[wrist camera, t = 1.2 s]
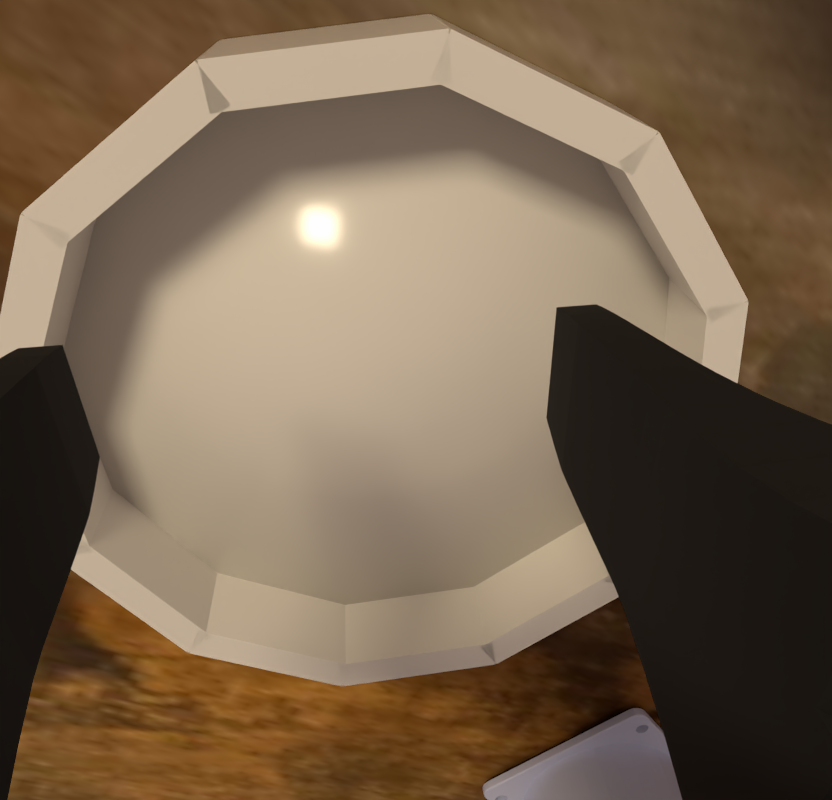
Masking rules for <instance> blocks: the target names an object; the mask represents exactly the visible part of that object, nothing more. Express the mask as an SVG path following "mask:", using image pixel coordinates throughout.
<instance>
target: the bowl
mask: <svg viewBox="0 0 832 800" xmlns="http://www.w3.org/2000/svg"><path fill="white" fill-rule="evenodd" d="M747 301H748V299H747V297H746V296H745V294H744V292H743V290H742V288H741V286H740V284H739V282H738V280H737V279H736V277H735V275H734V273H733V271H732V269H731V267H730V265H729V263H728V261H727V260H726V258H725V256H724V254H723V252H722V250H721V248H720V246H719V244H718V243H717V241H716V239H715V237H714V235H713V233H712V231H711V229H710V227H709V225H708V224H707V222H706V220H705V218H704V216H703V214H702V212H701V210H700V208H699V207H698V205H697V203H696V201H695V199H694V197H693V195H692V193H691V191H690V189H689V188H688V186H687V184H686V182H685V180H684V178H683V176H682V174H681V172H680V171H679V169H678V167H677V165H676V163H675V161H674V159H673V157H672V155H671V153H670V152H669V150H668V148H667V146H666V144H665V142H664V140H663V138H662V136H661V135H660V133H659V132H658V131H657V130H655V129H653V128H652V127H650V126H648V125H647V124H645V123H643V122H641V121H640V120H638V119H636V118H635V117H633V116H631V115H630V114H628V113H626V112H625V111H623V110H621V109H619V108H618V107H616V106H614V105H613V104H611V103H609V102H607V101H605V100H603V99H601V98H599V97H597V96H595V95H593V94H591V93H589V92H587V91H585V90H583V89H581V88H579V87H577V86H575V85H573V84H571V83H569V82H567V81H565V80H563V79H561V78H559V77H557V76H555V75H553V74H551V73H549V72H547V71H545V70H543V69H541V68H539V67H537V66H535V65H533V64H531V63H529V62H527V61H525V60H523V59H521V58H519V57H517V56H515V55H513V54H511V53H509V52H507V51H505V50H503V49H501V48H499V47H497V46H495V45H493V44H491V43H489V42H487V41H485V40H483V39H481V38H479V37H477V36H475V35H473V34H471V33H469V32H467V31H465V30H463V29H461V28H459V27H457V26H455V25H453V24H451V23H449V22H447V21H445V20H443V19H441V18H439V17H436V16H434V15H431V14H425V15H417V16H409V17H401V18H392V19H384V20H376V21H368V22H360V23H352V24H344V25H336V26H328V27H320V28H312V29H303V30H295V31H287V32H279V33H271V34H263V35H255V36H247V37H239V38H231V39H223V40H220V41H218V42H216V43H215V44H214V45H213V46H212V47H210V48H209V49H208V50H207V51H206V52H204V53H203V54H202V55H201V56H200V57H199V58H197V59H196V60H195V61H194V62H193V63H191V64H190V65H189V66H188V67H187V68H186V69H185V70H184V71H182V72H181V73H180V74H179V75H178V76H177V77H176V78H174V79H173V80H172V81H171V82H170V83H169V84H168V85H166V86H165V87H164V88H163V89H162V90H161V91H160V92H158V93H157V94H156V95H155V96H154V97H153V98H152V99H150V100H149V101H148V102H147V103H146V104H145V105H144V106H142V107H141V108H140V109H139V110H138V111H137V112H136V113H134V114H133V115H132V116H131V117H130V118H129V119H128V120H127V121H125V122H124V123H123V124H122V125H121V126H120V127H119V128H117V129H116V130H115V131H114V132H113V133H112V134H111V135H109V136H108V137H107V138H106V139H105V140H104V141H103V142H101V143H100V144H99V145H98V146H97V147H96V148H95V149H93V150H92V151H91V152H90V153H89V154H88V155H87V156H85V157H84V158H83V159H82V160H81V161H80V162H79V163H77V164H76V165H75V166H74V167H73V168H72V169H71V170H70V171H68V172H67V173H66V174H65V175H64V176H63V177H62V178H60V179H59V180H58V181H57V182H56V183H55V184H54V185H52V186H51V187H50V188H49V189H48V190H47V191H46V192H44V193H43V194H42V195H41V196H40V197H39V198H38V199H36V200H35V201H34V202H33V203H32V204H31V205H30V206H28V207H27V208H26V209H25V210H24V211H23V212H22V214H21V215H20V218H19V223H18V229H17V234H16V239H15V244H14V249H13V254H12V259H11V264H10V269H9V274H8V279H7V284H6V289H5V294H4V299H3V304H2V309H1V315H0V358H1V357H3V356H5V355H7V354H8V353H10V352H12V351H14V350H16V349H18V348H28V347H41V346H54V345H63V348H64V351H65V354H66V357H67V360H68V363H69V366H70V369H71V372H72V375H73V378H74V381H75V384H76V387H77V390H78V393H79V396H80V399H81V402H82V405H83V408H84V411H85V414H86V417H87V420H88V423H89V426H90V429H91V432H92V435H93V438H94V441H95V444H96V447H97V450H98V453H99V456H100V460H99V466H98V472H97V478H96V484H95V490H94V495H93V500H92V504H91V509H90V514H89V518H88V521H87V524H86V527H85V530H84V533H83V536H82V538H81V541H80V544H79V547H78V550H77V553H76V556H75V559H74V562H73V564H72V567H71V570H72V571H74V572H75V573H77V574H78V575H79V576H81V577H82V578H84V579H85V580H86V581H88V582H89V583H91V584H92V585H94V586H95V587H96V588H98V589H99V590H101V591H102V592H103V593H105V594H106V595H108V596H109V597H110V598H112V599H113V600H115V601H116V602H117V603H119V604H120V605H122V606H123V607H124V608H126V609H127V610H129V611H130V612H131V613H133V614H134V615H136V616H137V617H138V618H140V619H141V620H143V621H144V622H145V623H147V624H148V625H150V626H151V627H152V628H154V629H155V630H157V631H158V632H159V633H161V634H162V635H164V636H165V637H166V638H168V639H169V640H171V641H172V642H173V643H175V644H176V645H178V646H179V647H180V648H182V649H183V650H185V651H186V652H188V651H189V653H191V654H195V655H200V656H205V657H209V658H214V659H218V660H223V661H228V662H232V663H237V664H241V665H246V666H251V667H255V668H260V669H264V670H269V671H274V672H278V673H283V674H287V675H292V676H297V677H301V678H306V679H310V680H315V681H320V682H324V683H329V684H333V685H338V686H342V684H343V686H349V685H356V684H363V683H370V682H377V681H384V680H391V679H398V678H405V677H412V676H419V675H426V674H433V673H440V672H446V671H453V670H460V669H467V668H474V667H481V666H488V665H495V663H496V664H498V663H499V662H501V661H503V660H505V659H507V658H509V657H510V656H512V655H514V654H516V653H518V652H519V651H521V650H523V649H525V648H527V647H529V646H530V645H532V644H534V643H536V642H538V641H539V640H541V639H543V638H545V637H547V636H549V635H550V634H552V633H554V632H556V631H558V630H559V629H561V628H563V627H565V626H567V625H569V624H570V623H572V622H574V621H576V620H578V619H580V618H581V617H583V616H585V615H587V614H589V613H590V612H592V611H594V610H596V609H598V608H600V607H601V606H603V605H605V604H607V603H609V602H610V601H612V600H614V599H616V598H618V597H619V596H618V594H617V591H616V589H615V586H614V584H613V582H612V580H611V578H610V575H609V573H608V571H607V569H606V567H605V565H604V562H603V560H602V558H601V556H600V554H599V552H598V549H597V547H596V545H595V543H594V541H593V539H592V536H591V534H590V532H589V530H588V528H587V526H586V523H585V521H584V519H583V517H582V515H581V513H580V511H579V508H578V506H577V504H576V502H575V499H574V497H573V495H572V493H571V491H570V488H569V486H568V484H567V482H566V479H565V477H564V475H563V473H562V470H561V467H560V464H559V460H558V457H557V454H556V450H555V447H554V444H553V440H552V436H551V433H550V429H549V426H548V422H547V418H546V416H547V406H548V395H549V384H550V373H551V362H552V352H553V341H554V330H555V319H556V308H557V307H567V306H581V305H594V304H597V305H599V306H601V307H603V308H605V309H607V310H609V311H611V312H613V313H615V314H617V315H618V316H620V317H622V318H623V319H625V320H627V321H629V322H630V323H632V324H634V325H635V326H637V327H639V328H640V329H642V330H644V331H645V332H647V333H649V334H650V335H652V336H654V337H655V338H657V339H659V340H660V341H662V342H664V343H665V344H667V345H669V346H670V347H672V348H674V349H675V350H677V351H679V352H681V353H682V354H684V355H686V356H687V357H689V358H691V359H693V360H694V361H696V362H698V363H700V364H702V365H703V366H705V367H707V368H709V369H711V370H713V371H714V372H716V373H718V374H720V375H722V376H724V377H726V378H728V379H730V380H732V381H734V382H736V383H738V376H739V369H740V361H741V354H742V346H743V339H744V332H745V324H746V317H747V309H748V302H747Z"/></svg>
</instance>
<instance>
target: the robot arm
mask: <svg viewBox="0 0 832 800" xmlns="http://www.w3.org/2000/svg"><path fill="white" fill-rule="evenodd" d="M546 418H547V422H548V426H549V429H550V433H551V436H552V440H553V444H554V447H555V450H556V454H557V457H558V460H559V464H560V467H561V470H562V473H563V475H564V477H565V479H566V482H567V484H568V486H569V488H570V491H571V493H572V495H573V497H574V499H575V502H576V504H577V506H578V508H579V511H580V513H581V515H582V517H583V519H584V521H585V523H586V526H587V528H588V530H589V532H590V534H591V536H592V539H593V541H594V543H595V545H596V547H597V549H598V552H599V554H600V556H601V558H602V560H603V562H604V565H605V567H606V569H607V571H608V573H609V575H610V578H611V580H612V582H613V584H614V586H615V589H616V591H617V594H618V596H619V599H620V601H621V604H622V606H623V608H624V611H625V614H626V617H627V620H628V623H629V626H630V629H631V632H632V635H633V638H634V641H635V644H636V647H637V650H638V653H639V656H640V659H641V662H642V665H643V668H644V671H645V674H646V678H647V681H648V684H649V687H650V691H651V694H652V697H653V700H654V704H655V707H656V710H657V713H658V717H659V720H660V723H661V726H662V729H661V728H660V727H659V726H658V725H657V723H656V722H655V721H654V720H653V719H652V718H651V717H650V716H649V715H648V714H647V713H646V712H645V711H644V710H643V709H641V708H632V709H629V710H627V711H625V712H623V713H621V714H619V715H617V716H615V717H613V718H611V719H609V720H607V721H605V722H603V723H601V724H599V725H597V726H595V727H593V728H592V729H590V730H588V731H586V732H584V733H582V734H580V735H578V736H576V737H574V738H572V739H570V740H568V741H566V742H564V743H562V744H560V745H558V746H556V747H554V748H552V749H550V750H548V751H546V752H544V753H542V754H540V755H538V756H536V757H534V758H532V759H530V760H528V761H526V762H524V763H522V764H521V765H519V766H517V767H515V768H513V769H511V770H509V771H507V772H505V773H503V774H501V775H499V776H497V777H495V778H493V779H491V780H489V781H487V782H486V783H485V784H484V785H483V793H484V796H485V798H486V799H488V800H832V425H831V424H828V423H826V422H823V421H821V420H818V419H816V418H813V417H811V416H808V415H806V414H804V413H801V412H799V411H796V410H794V409H792V408H789V407H787V406H784V405H782V404H780V403H777V402H775V401H773V400H771V399H768V398H766V397H764V396H762V395H760V394H758V393H756V392H753V391H751V390H750V389H748V388H746V387H744V386H742V385H740V384H738V383H736V382H734V381H732V380H730V379H728V378H726V377H724V376H722V375H720V374H718V373H716V372H714V371H713V370H711V369H709V368H707V367H705V366H703V365H702V364H700V363H698V362H696V361H694V360H693V359H691V358H689V357H687V356H686V355H684V354H682V353H681V352H679V351H677V350H675V349H674V348H672V347H670V346H669V345H667V344H665V343H664V342H662V341H660V340H659V339H657V338H655V337H654V336H652V335H650V334H649V333H647V332H645V331H644V330H642V329H640V328H639V327H637V326H635V325H634V324H632V323H630V322H629V321H627V320H625V319H623V318H622V317H620V316H618V315H617V314H615V313H613V312H611V311H609V310H607V309H605V308H603V307H601V306H599V305H597V304H594V305H581V306H567V307H557V308H556V319H555V330H554V341H553V352H552V362H551V373H550V384H549V395H548V406H547V416H546ZM99 460H100V456H99V453H98V450H97V447H96V444H95V441H94V438H93V435H92V432H91V429H90V426H89V423H88V420H87V417H86V414H85V411H84V408H83V405H82V402H81V399H80V396H79V393H78V390H77V387H76V384H75V381H74V378H73V375H72V372H71V369H70V366H69V363H68V360H67V357H66V354H65V351H64V348H63V345H54V346H41V347H28V348H18V349H16V350H14V351H12V352H10V353H8V354H7V355H5V356H3V357H1V358H0V800H7V798H8V793H9V788H10V783H11V778H12V773H13V768H14V763H15V758H16V753H17V748H18V743H19V739H20V735H21V730H22V726H23V722H24V717H25V713H26V709H27V704H28V700H29V696H30V691H31V687H32V683H33V678H34V675H35V671H36V668H37V665H38V662H39V658H40V655H41V652H42V648H43V645H44V643H45V640H46V637H47V634H48V631H49V629H50V626H51V623H52V620H53V617H54V615H55V612H56V609H57V606H58V603H59V601H60V598H61V595H62V592H63V589H64V587H65V584H66V581H67V578H68V575H69V573H70V570H71V567H72V564H73V562H74V559H75V556H76V553H77V550H78V547H79V544H80V541H81V538H82V536H83V533H84V530H85V527H86V524H87V521H88V518H89V514H90V509H91V504H92V500H93V495H94V490H95V484H96V478H97V472H98V466H99Z"/></svg>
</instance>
